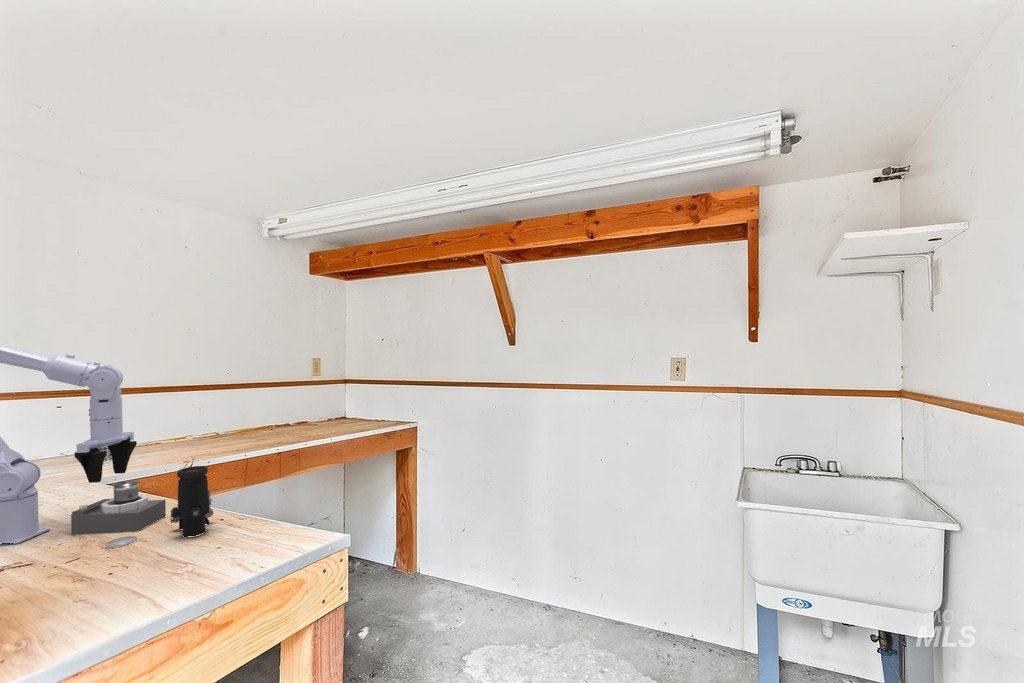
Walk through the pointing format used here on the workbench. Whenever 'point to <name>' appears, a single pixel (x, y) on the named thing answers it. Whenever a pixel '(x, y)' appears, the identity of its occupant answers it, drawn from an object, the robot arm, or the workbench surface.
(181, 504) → the scope
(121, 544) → the grey domed disc
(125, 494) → the lens
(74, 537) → the workbench surface
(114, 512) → the camera body
